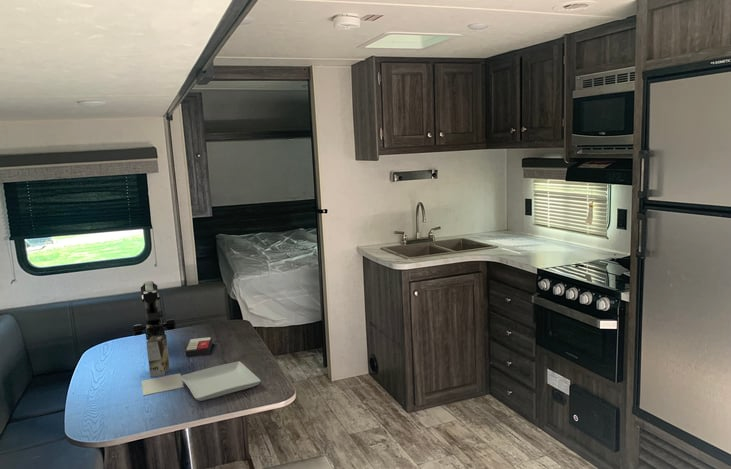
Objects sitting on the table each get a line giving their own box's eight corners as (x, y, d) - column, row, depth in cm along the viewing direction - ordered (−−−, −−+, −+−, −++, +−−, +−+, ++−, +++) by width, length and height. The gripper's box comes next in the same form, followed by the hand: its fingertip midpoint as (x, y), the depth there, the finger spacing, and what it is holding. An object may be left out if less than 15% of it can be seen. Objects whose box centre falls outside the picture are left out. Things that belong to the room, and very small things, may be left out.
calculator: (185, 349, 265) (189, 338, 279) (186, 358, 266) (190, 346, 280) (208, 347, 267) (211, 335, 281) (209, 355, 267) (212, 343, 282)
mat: (141, 381, 238) (141, 380, 238) (180, 373, 244) (179, 373, 244) (143, 395, 224) (143, 395, 224) (183, 387, 230) (183, 386, 230)
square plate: (196, 407, 212) (195, 397, 211) (179, 383, 235) (178, 375, 234) (262, 388, 226) (261, 379, 225) (240, 367, 249) (239, 359, 248)
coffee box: (164, 375, 243) (160, 341, 241) (149, 376, 243) (145, 342, 240) (170, 367, 252) (166, 334, 250) (155, 368, 252) (152, 335, 249)
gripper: (130, 309, 253) (133, 338, 245) (172, 302, 261) (177, 331, 252) (132, 320, 262) (135, 349, 253) (173, 314, 269) (177, 342, 261)
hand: (156, 343), depth 255 cm, fingers closed
